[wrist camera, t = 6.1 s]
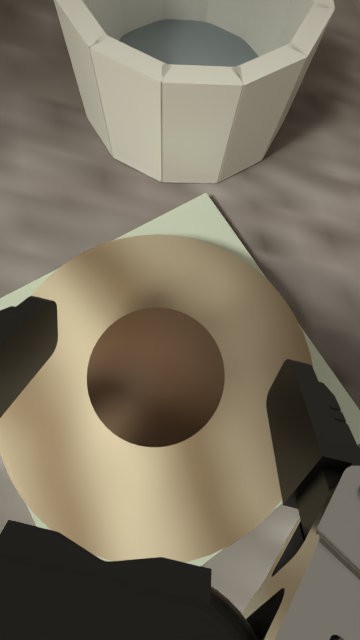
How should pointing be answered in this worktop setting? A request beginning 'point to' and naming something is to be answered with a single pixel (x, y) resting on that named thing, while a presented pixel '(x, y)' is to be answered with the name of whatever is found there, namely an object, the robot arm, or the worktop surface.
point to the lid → (154, 400)
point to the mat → (212, 228)
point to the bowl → (190, 78)
